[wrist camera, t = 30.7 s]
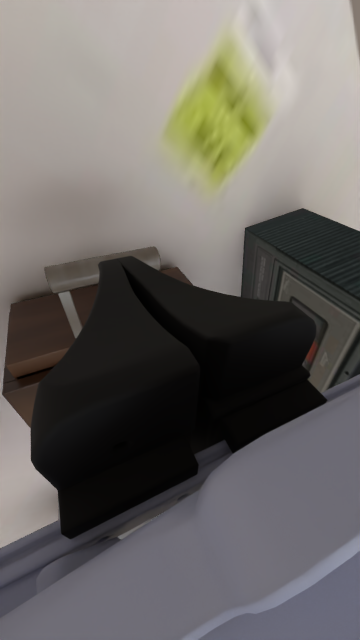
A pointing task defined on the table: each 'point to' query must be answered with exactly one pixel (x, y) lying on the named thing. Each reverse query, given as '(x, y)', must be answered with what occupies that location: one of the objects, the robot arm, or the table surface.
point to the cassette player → (311, 285)
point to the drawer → (61, 312)
